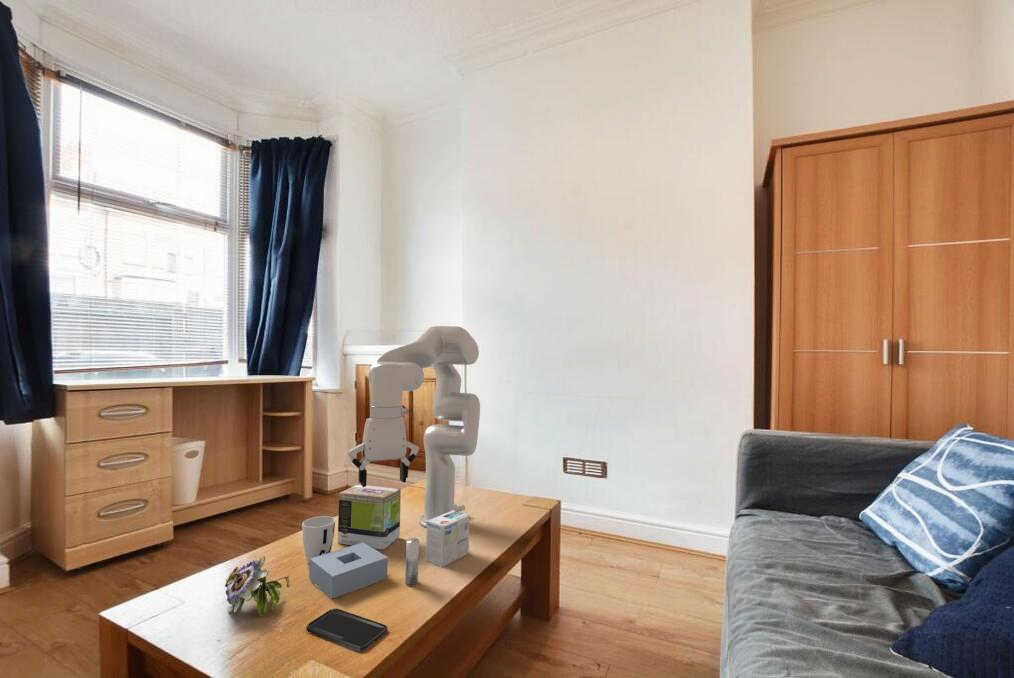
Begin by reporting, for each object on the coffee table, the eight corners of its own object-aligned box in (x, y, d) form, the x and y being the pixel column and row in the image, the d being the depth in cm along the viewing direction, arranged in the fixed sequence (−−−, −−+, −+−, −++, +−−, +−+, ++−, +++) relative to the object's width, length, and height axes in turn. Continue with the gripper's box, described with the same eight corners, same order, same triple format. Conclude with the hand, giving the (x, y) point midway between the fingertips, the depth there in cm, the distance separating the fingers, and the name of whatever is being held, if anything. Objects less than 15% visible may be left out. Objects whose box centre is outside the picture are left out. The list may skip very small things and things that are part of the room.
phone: (333, 607, 97) (389, 626, 91) (333, 612, 97) (389, 632, 91) (303, 627, 90) (361, 649, 84) (303, 632, 90) (361, 655, 84)
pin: (413, 578, 112) (414, 537, 112) (420, 582, 110) (421, 540, 110) (402, 582, 110) (403, 540, 110) (409, 587, 108) (411, 544, 108)
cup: (322, 568, 116) (323, 528, 116) (294, 564, 118) (295, 525, 118) (340, 554, 124) (341, 517, 124) (313, 551, 126) (314, 514, 126)
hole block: (362, 561, 120) (363, 542, 120) (387, 578, 112) (387, 557, 112) (309, 579, 110) (309, 558, 110) (331, 599, 102) (332, 576, 102)
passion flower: (232, 638, 96) (210, 584, 99) (282, 605, 105) (260, 557, 108) (250, 625, 90) (225, 569, 93) (301, 592, 99) (277, 542, 102)
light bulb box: (451, 547, 130) (452, 509, 131) (469, 553, 127) (470, 514, 127) (424, 560, 122) (425, 519, 122) (443, 568, 118) (444, 525, 118)
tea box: (400, 537, 136) (402, 487, 137) (382, 551, 127) (384, 497, 127) (356, 531, 141) (358, 482, 141) (336, 544, 131) (337, 492, 131)
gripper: (415, 410, 120) (413, 476, 120) (346, 412, 112) (343, 483, 111) (424, 413, 114) (422, 483, 113) (352, 416, 105) (349, 491, 105)
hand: (383, 483), depth 112 cm, fingers open, 9 cm apart
